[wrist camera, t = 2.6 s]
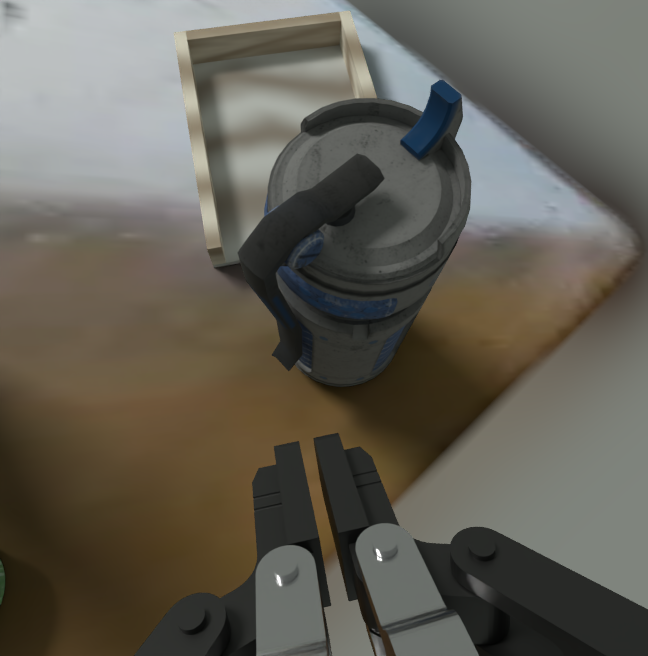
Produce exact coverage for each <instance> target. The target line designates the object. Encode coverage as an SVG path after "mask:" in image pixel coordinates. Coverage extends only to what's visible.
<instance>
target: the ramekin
mask: <svg viewBox="0 0 648 656" xmlns="http://www.w3.org/2000/svg"><path fill="white" fill-rule="evenodd" d="M4 590H5V573H4V568H3V565H2V562H1V560H0V605H1V603H2V599H3V595H4Z"/></svg>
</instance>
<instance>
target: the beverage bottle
mask: <svg viewBox="0 0 648 656" xmlns="http://www.w3.org/2000/svg"><path fill="white" fill-rule="evenodd" d="M462 118H463V112H462V97H461V94H460V93H458V92H457V91H456V90H455V89H453V88H452V87H451V86H450V85H449V84H447V83H446V82H445V81H444V80H439V81H438V82H436V83H435V84H433V85H432V86H431V92H430V97H429V100H428V103H427V105H426V108H425V110H424V112H421V111H419V110H417V109H415V108H413V107H411V106H409V105H405V104H402V103H399V102H395V101H392V100H385V99H378V98H355V99H349V100H343V101H338V102H335V103H332V104H330V105H327V106H324V107H321V108H320V109H318V110H316V111H315V112H313V113H311V114H310V115H308V116H307V117H305V118H304V119H303V121H302V122H301V132H300V133H299V134H298V135H297V136H296V137H295V138H293V139H292V140H291V141H290V142H289V143H288V144H287V145H286V147H285V148H284V149H283V150H282V152H281V153H280V154H279V156H278V157H277V159H276V162H275V164H274V166H273V168H272V170H271V174H270V178H269V183H268V193H267V198H266V203H265V207H264V217H263V218H262V220H261V221H260V222H259V224H258V225H257V226H256V228H255V229H254V230H253V232H252V233H251V234H250V236H249V237H248V238H247V240H246V241H245V242H244V244H243V245H242V246H241V248H240V249H239V251H238V252H237V253H238V256H239V260H240V263H241V266H242V270H243V273H244V276H245V278H246V281H247V283H248V284H249V285H250V287H251V288H252V289H253V290H254V292H255V293H256V294H257V295H258V297H259V298H260V299H261V301H262V302H263V303H264V304H265V306H266V307H267V308H268V309H269V311H270V312H271V313H272V315H273V316H274V317H275V318H276V320H277V325H278V330H279V336H280V343H279V344H278V346H277V347H276V349H275V351H274V352H273V354H272V356H274V357H276V358H277V359H278V360H279V361H280V362H281V363H282V364H283V365H284V367H285V368H286V369H287V370H288V371H289V370H290V369H291V368H292V367H293V366H294V364H295V365H296V367H297V368H298V369H299V370H301V371H302V372H303V373H304V374H305V375H307V376H308V377H310V378H312V379H313V380H315V381H317V382H320V383H323V384H326V385H331V386H338V387H344V386H354V385H358V384H362V383H364V382H367V381H369V380H371V379H373V378H374V377H376V376H377V375H378V374H380V373H381V372H383V370H384V369H385V368H386V367H387V366H388V365H389V364H390V362H391V360H392V359H393V357H394V355H395V353H396V352H397V350H398V348H399V346H400V344H401V343H402V341H403V339H404V337H405V336H406V334H407V332H408V330H409V328H410V327H411V325H412V323H413V321H414V319H415V318H416V316H417V314H418V312H419V310H420V309H421V307H422V305H423V303H424V302H425V300H426V298H427V296H428V294H429V293H430V291H431V289H432V286H433V285H434V283H435V281H436V279H437V278H438V276H439V274H440V272H441V271H442V269H443V267H444V265H445V264H446V262H447V260H448V258H449V256H450V255H451V253H452V251H453V249H454V247H455V246H456V243H457V241H458V238H459V236H460V234H461V232H462V230H463V228H464V227H465V224H466V221H467V217H468V214H469V211H470V199H471V177H470V172H469V166H468V163H467V161H466V159H465V156H464V154H463V151H462V149H461V148H460V146H459V145H458V144H457V142H456V141H455V137H456V134H457V132H458V129H459V127H460V124H461V122H462Z"/></svg>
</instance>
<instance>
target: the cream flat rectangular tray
mask: <svg viewBox="0 0 648 656" xmlns="http://www.w3.org/2000/svg"><path fill="white" fill-rule="evenodd" d="M174 38H175V44H176V51H177V57H178V64H179V70H180V77H181V83H182V89H183V96H184V102H185V109H186V115H187V122H188V128H189V135H190V141H191V148H192V154H193V161H194V167H195V174H196V180H197V187H198V193H199V199H200V206H201V212H202V219H203V225H204V232H205V238H206V245H207V250H208V253H209V256H210V258H211V261H212V264H213V266H214V268H215V267H220V266H226V265H232V264H238V263H240V260H239V256H238V253H237V252H238V251H239V249H240V248H241V246H242V245H243V244H244V242H245V241H246V240H247V238H248V237H249V236H250V234H251V233H252V232H253V230H254V229H255V228H256V226H257V225H258V224H259V222H260V221H261V220H262V218H263V217H264V207H265V203H266V198H267V193H268V183H269V178H270V174H271V170H272V168H273V166H274V164H275V162H276V159H277V157H278V156H279V154H280V153H281V152H282V150H283V149H284V148H285V147H286V145H287V144H288V143H289V142H290V141H291V140H292V139H293V138H295V137H296V136H297V135H298V134H299V133H300V132H301V122H302V121H303V119H304V118H305V117H307V116H308V115H310V114H311V113H313V112H315V111H316V110H318V109H320V108H321V107H324V106H327V105H330V104H332V103H335V102H338V101H343V100H349V99H355V98H377V96H376V93H375V89H374V86H373V83H372V80H371V76H370V73H369V70H368V67H367V64H366V60H365V57H364V54H363V51H362V48H361V44H360V41H359V38H358V35H357V32H356V28H355V25H354V22H353V19H352V16H351V12H350V11H343V12H335V13H327V14H319V15H311V16H303V17H295V18H287V19H279V20H271V21H263V22H255V23H247V24H239V25H231V26H223V27H215V28H207V29H199V30H191V31H183V32H175V33H174Z"/></svg>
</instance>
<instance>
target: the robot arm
mask: <svg viewBox="0 0 648 656" xmlns="http://www.w3.org/2000/svg"><path fill="white" fill-rule="evenodd" d="M314 446H315V452H316V458H317V464H318V470H319V476H320V482H321V487H322V492H323V497H324V501H325V505H326V510H327V514H328V518H329V522H330V526H331V530H332V534H333V538H334V542H335V547H336V551H337V555H338V559H339V563H340V567H341V571H342V575H343V579H344V583H345V587H346V592H347V596H348V600H349V601H352V600H356V599H358V602H359V606H360V610H361V614H362V617H363V620H364V622H365V623H366V629H367V632H368V636H369V639H370V642H371V645H372V649H373V652H374V655H375V656H648V609H646V608H644V607H642V606H640V605H638V604H636V603H634V602H632V601H630V600H629V599H626V598H624V597H623V596H621V595H619V594H617V593H615V592H613V591H611V590H609V589H607V588H605V587H603V586H601V585H599V584H597V583H596V582H593V581H592V580H590V579H587V578H586V577H584V576H582V575H580V574H578V573H576V572H574V571H572V570H570V569H568V568H566V567H564V566H562V565H560V564H558V563H556V562H555V561H553V560H551V559H549V558H547V557H545V556H543V555H541V554H539V553H537V552H535V551H533V550H531V549H529V548H527V547H526V546H524V545H522V544H520V543H518V542H516V541H514V540H512V539H510V538H508V537H506V536H504V535H502V534H500V533H498V532H496V531H494V530H492V529H489V528H484V527H470V528H466V529H464V530H462V531H460V532H458V533H457V534H456V535H455V536H454V537H453V539H452V541H451V544H436V543H426V542H421V541H419V540H416V539H414V538H412V536H411V535H410V534H409V533H408V531H406V530H405V529H404V528H402V527H400V526H399V524H398V522H397V519H396V517H395V514H394V512H393V509H392V507H391V504H390V502H389V499H388V497H387V494H386V492H385V489H384V487H383V484H382V483H381V479H380V477H379V474H378V473H377V469H376V467H375V464H374V462H373V459H372V457H371V456H370V455H369V454H368V453H366V452H365V451H364V450H363V449H362V448H361V447H356V448H351V449H347V450H344V449H343V446H342V443H341V440H340V437H339V434H338V433H335V434H330V435H326V436H321V437H316V438H314ZM274 451H275V458H276V465H272V466H267V467H263V468H259V469H258V471H257V473H256V476H255V478H254V480H253V482H252V486H253V498H254V511H255V512H254V515H255V529H256V543H257V563H256V566H255V569H254V571H253V573H252V574H251V576H250V577H249V578H248V580H247V581H246V582H245V583H244V584H242V585H241V586H240V587H238V588H237V589H235V590H234V591H232V592H230V593H228V594H227V595H225V596H223V597H221V598H218V597H217V596H215V595H213V594H209V593H196V594H192V595H189V596H187V597H185V598H183V599H181V600H180V601H178V602H177V603H176V604H175V605H174V606H173V607H172V608H171V609H170V610H169V611H168V612H167V614H166V615H165V616H164V617H163V619H162V620H161V621H160V623H159V624H158V625H157V626H156V628H155V629H154V630H153V632H152V633H151V634H150V636H149V637H148V638H147V639H146V641H145V642H144V643H143V645H142V646H141V647H140V648H139V650H138V651H137V652H136V654H135V655H134V656H332V652H331V646H330V639H329V634H328V629H327V623H326V617H325V612H324V607H328V606H331V603H330V597H329V591H328V585H327V579H326V574H325V568H324V563H323V557H322V551H321V546H320V540H319V535H318V530H317V525H316V521H315V516H314V511H313V506H312V502H311V497H310V492H309V487H308V483H307V478H306V473H305V469H304V464H303V459H302V454H301V450H300V445H299V441H297V442H292V443H287V444H283V445H278V446H274Z"/></svg>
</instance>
